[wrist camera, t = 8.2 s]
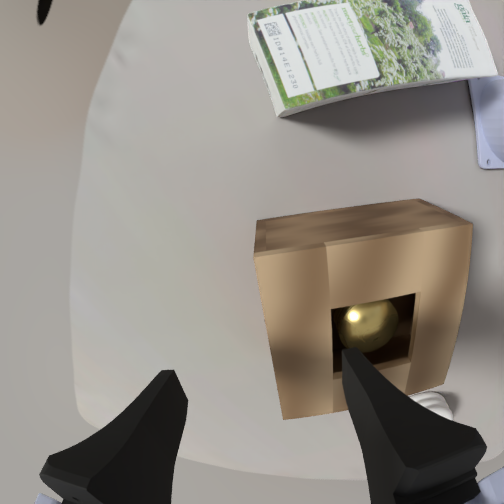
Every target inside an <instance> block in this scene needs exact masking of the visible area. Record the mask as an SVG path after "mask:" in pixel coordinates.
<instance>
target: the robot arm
mask: <svg viewBox="0 0 504 504" xmlns="http://www.w3.org/2000/svg"><path fill="white" fill-rule="evenodd" d="M468 84H469V89H470V95H471V101H472V107H473V114H474V122H475V130H476V140H477V153H478V165H479V167H480V168H483V169H495V168H504V77H503V76H495V77H485V78H476V79H468ZM487 160H488V164H487ZM342 385H343V390H344V395H345V399H346V404H347V407H348V410H349V412H350V415H351V418H352V421H353V424H354V427H355V430H356V433H357V436H358V439H359V442H360V445H361V449H362V453H363V458H364V463H365V468H366V474H367V480H368V485H369V493H370V500H371V504H504V467H502V468H500V469H499V470H497V471H495V472H494V473H492V474H490V475H488V476H487V477H485V478H483V479H482V480H481V481H479V482H478V483H477V482H476V479H475V477H476V476H477V472H476V470H475V467H476V465H477V464H478V463H479V461H480V460H481V459H482V457H483V456H484V454H485V452H486V449H487V446H486V444H485V442H484V440H483V438H482V437H481V435H480V434H479V432H478V431H477V430H476V428H473V427H470V426H467V425H464V424H460V423H457V422H454V421H452V420H450V419H447V418H445V417H442V416H440V415H438V414H437V413H435V412H433V411H431V410H429V409H427V408H425V407H424V406H422V405H420V404H419V403H417V402H416V401H414V400H413V399H411V398H410V397H408V396H407V395H406V394H404V393H403V392H402V391H400V390H399V389H398V388H397V387H396V386H394V385H393V384H392V383H391V382H390V381H389V380H388V379H386V378H385V377H384V376H383V375H382V374H381V373H380V372H379V371H378V370H377V369H376V368H375V367H374V366H373V365H372V364H371V363H370V361H369V360H368V359H367V358H366V357H365V356H364V355H363V354H362V352H361V351H360V350H359V349H358V348H357V347H354V348H349V349H344V350H342ZM187 407H188V399H187V397H186V395H185V393H184V391H183V388H182V386H181V384H180V382H179V380H178V377H177V375H176V373H175V371H174V370H162V371H161V372H160V373H159V374H158V375H157V376H156V377H155V378H154V379H153V380H152V381H151V382H150V384H149V385H148V386H147V387H146V388H145V389H144V390H143V391H142V392H141V393H140V394H139V396H138V397H137V398H136V399H135V400H134V401H133V402H132V403H131V404H130V405H129V406H128V407H127V408H126V409H125V410H124V411H123V412H122V413H121V414H119V415H118V416H117V417H116V418H115V419H114V420H113V421H111V422H110V423H109V424H107V425H106V426H105V427H104V428H102V429H101V430H99V431H98V432H96V433H95V434H93V435H92V436H90V437H89V438H87V439H85V440H84V441H82V442H80V443H78V444H76V445H74V446H72V447H70V448H68V449H65V450H63V451H60V452H58V453H55V454H53V455H50V456H49V457H48V459H47V461H46V463H45V465H44V467H43V468H42V470H41V473H40V474H39V475H40V478H41V480H42V481H43V482H44V483H45V484H46V485H47V486H48V487H50V488H51V489H52V490H53V491H54V492H56V493H57V494H58V495H59V496H61V497H62V498H63V502H62V503H61V502H59V501H57V500H55V499H53V498H50V497H48V496H46V495H44V494H41V493H39V494H38V497H37V499H36V501H35V503H34V504H171V494H172V482H173V473H174V465H175V461H176V457H177V453H178V449H179V445H180V441H181V438H182V434H183V430H184V426H185V422H186V416H187Z"/></svg>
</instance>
